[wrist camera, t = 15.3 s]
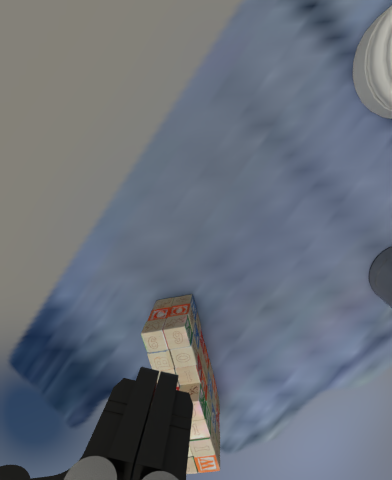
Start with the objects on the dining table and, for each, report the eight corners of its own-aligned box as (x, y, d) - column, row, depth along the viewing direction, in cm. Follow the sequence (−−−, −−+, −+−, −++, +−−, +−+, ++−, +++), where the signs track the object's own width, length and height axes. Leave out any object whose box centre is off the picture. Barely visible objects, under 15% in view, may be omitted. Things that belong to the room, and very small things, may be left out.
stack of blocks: (155, 299, 48) (133, 347, 36) (193, 292, 47) (183, 339, 35) (186, 405, 53) (176, 477, 41) (220, 401, 52) (220, 473, 41)
